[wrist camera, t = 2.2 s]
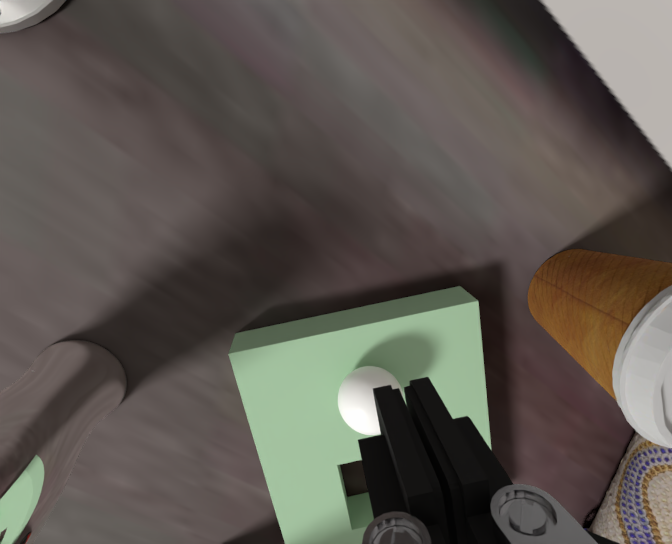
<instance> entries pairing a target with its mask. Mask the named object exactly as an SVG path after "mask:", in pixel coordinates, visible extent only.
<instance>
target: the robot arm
mask: <svg viewBox="0 0 672 544" xmlns="http://www.w3.org/2000/svg"><path fill="white" fill-rule="evenodd" d="M65 1H66V0H0V12H1V15H0V34H1V33H9V32H16V31H19V30H22V29H24V28H27V27H30V26H33V25H36V24H38V23H39V22H41V21H42V20H44V19H45V18H47V17H48V16H50V15H51V14H53V13H54V12H56V11H57V10H58V9H59V8H60V6H61V5H62V4H63V3H64V2H65ZM404 393H405V399H406V403H405V401H404V399H403V396H402V394H401V392H400V389H399V388H397V389H392V387H391V385H387V386H382V387H377V388H373V394H374V400H375V405H376V411H377V416H378V421H379V427H380V432H381V435H377V436H372V437H368V438H363V439H359V440H358V444H359V448H360V453H361V458H362V463H363V468H364V473H365V478H366V483H367V488H368V493H369V498H370V502H371V507H372V512H373V517H374V520H373V521H372V522H371V523H370V524H369V525H368V526H367V528H366V530H365V532H364V534H363V540H362V544H620V543H617V542H615V541H612V540H610V539H607V538H605V537H602V536H600V535H597V534H595V533H593V532H590V531H588V530H585V529H583V528H582V526H581V525H580V524H579V523H578V522H577V521H576V520H575V519H574V518H573V517H572V516H571V515H570V514H569V513H568V512H567V511H566V510H565V509H564V508H563V507H562V506H561V505H560V504H559V503H558V502H557V501H556V500H555V499H554V498H553V497H552V496H550V495H549V494H548V493H547V492H545V491H543V490H541V489H539V488H536V487H533V486H529V485H522V484H513V483H512V481H511V480H510V478H509V477H508V475H507V474H506V472H505V471H504V469H503V468H502V466H501V465H500V463H499V462H498V460H497V458H496V457H495V455H494V454H493V452H492V451H491V449H490V448H489V446H488V445H487V443H486V442H485V440H484V439H483V437H482V436H481V434H480V432H479V431H478V429H477V428H476V426H475V425H474V423H473V422H472V420H471V419H470V418H469V417H468V416H464V417H459V418H455V419H453V418H452V416H451V415H450V413H449V411H448V409H447V408H446V406H445V404H444V403H443V401H442V399H441V398H440V396H439V394H438V392H437V391H436V389H435V387H434V386H433V384H432V382H431V380H430V379H429V377H424V378H419V379H415V380H410V386H406V387H404Z"/></svg>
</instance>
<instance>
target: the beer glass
mask: <svg viewBox="0 0 672 544" xmlns="http://www.w3.org/2000/svg"><path fill="white" fill-rule="evenodd" d="M126 388H127V379H126V374H125V371H124V369H123V367H122V365H121V363H120V362H119V361H118V359H117V358H116V357H115V356H114V355H113V354H112V353H110V352H109V351H108V350H106V349H105V348H103V347H101V346H99V345H97V344H94V343H91V342H87V341H81V340H68V341H63V342H59V343H56V344H54V345H52V346H50V347H48V348H46V349H45V350H44V351H43V352H41V353H40V354H39V355H38V356H37V358H36V359H35V360H34V361H33V363H32V364H31V365H30V367H29V368H28V369H27V371H26V372H25V373H24V374H23V375H22V376H21V377H20V378H19V379H18V380H17V381H16V382H14V383H13V384H11V385H10V386H8V387H7V388H5V389H3V390H2V391H0V544H33V543H34V541H35V539H36V538H37V536H38V535H39V533H40V532H41V530H42V528H43V527H44V525H45V524H46V522H47V521H48V519H49V517H50V515H51V514H52V512H53V510H54V508H55V506H56V504H57V502H58V500H59V498H60V496H61V494H62V492H63V491H64V488H65V486H66V484H67V482H68V480H69V477H70V475H71V473H72V471H73V468H74V466H75V464H76V462H77V459H78V457H79V455H80V452H81V450H82V448H83V446H84V444H85V442H86V440H87V438H88V437H89V435H90V433H91V432H92V430H93V429H94V428H95V427H96V425H97V424H98V423H99V422H100V421H102V420H103V419H104V418H105V417H106V416H107V415H109V414H110V413H111V412H112V411H113V410H115V409H116V408H117V406H118V405H119V404H120V403H121V401H122V400H123V398H124V395H125V392H126Z"/></svg>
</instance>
